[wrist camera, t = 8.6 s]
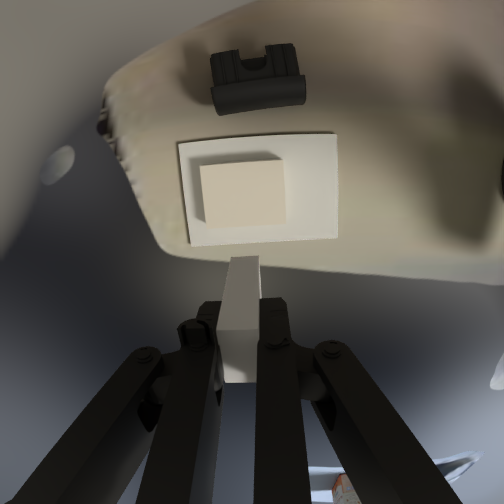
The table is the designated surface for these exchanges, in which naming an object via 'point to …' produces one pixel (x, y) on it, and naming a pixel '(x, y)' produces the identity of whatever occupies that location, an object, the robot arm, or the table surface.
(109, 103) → the table surface
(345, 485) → the cracker box
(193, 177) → the mat
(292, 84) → the end cap
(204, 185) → the tile
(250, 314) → the robot arm
